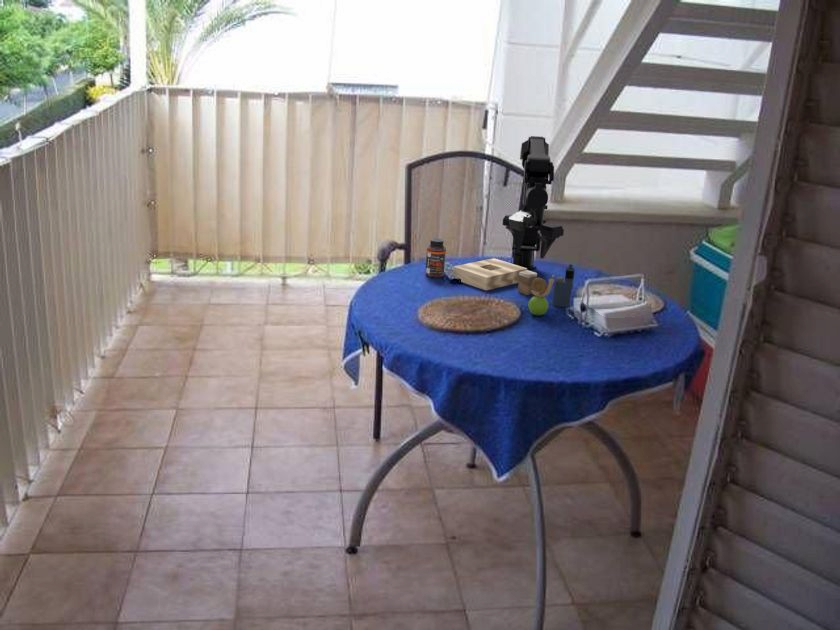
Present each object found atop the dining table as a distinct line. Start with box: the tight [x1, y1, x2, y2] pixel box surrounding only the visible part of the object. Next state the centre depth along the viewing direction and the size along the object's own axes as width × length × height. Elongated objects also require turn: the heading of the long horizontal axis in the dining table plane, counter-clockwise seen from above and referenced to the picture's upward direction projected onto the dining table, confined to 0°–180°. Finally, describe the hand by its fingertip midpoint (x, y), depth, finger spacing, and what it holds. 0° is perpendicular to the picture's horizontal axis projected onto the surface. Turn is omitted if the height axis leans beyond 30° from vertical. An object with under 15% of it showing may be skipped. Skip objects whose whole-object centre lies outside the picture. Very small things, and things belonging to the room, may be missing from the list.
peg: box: [517, 270, 538, 296], centre depth 243 cm, size 4×4×6 cm
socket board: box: [452, 257, 527, 291], centre depth 254 cm, size 18×14×4 cm
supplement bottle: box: [424, 238, 447, 278], centre depth 255 cm, size 6×6×11 cm
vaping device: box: [552, 264, 576, 308], centre depth 232 cm, size 3×5×12 cm, turn 89°
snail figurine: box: [527, 274, 556, 316], centre depth 223 cm, size 5×6×12 cm
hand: (529, 254), depth 241 cm, fingers open, 9 cm apart
